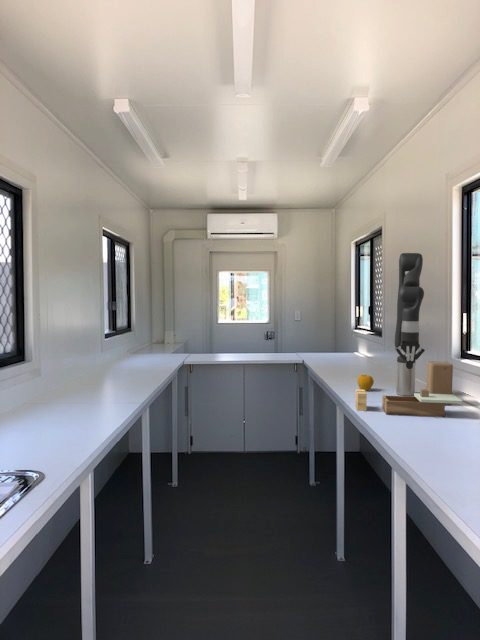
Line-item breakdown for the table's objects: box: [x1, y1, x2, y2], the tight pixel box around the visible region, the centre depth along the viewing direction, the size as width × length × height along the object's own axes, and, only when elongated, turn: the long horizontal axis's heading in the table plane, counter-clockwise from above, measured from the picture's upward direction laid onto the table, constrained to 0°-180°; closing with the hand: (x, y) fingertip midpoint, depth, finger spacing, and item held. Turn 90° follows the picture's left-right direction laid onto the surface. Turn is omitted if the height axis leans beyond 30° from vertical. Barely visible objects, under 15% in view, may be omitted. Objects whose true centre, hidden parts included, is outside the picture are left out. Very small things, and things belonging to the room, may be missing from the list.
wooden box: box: [381, 395, 446, 418], centre depth 200 cm, size 12×24×6 cm, turn 81°
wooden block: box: [425, 360, 454, 406], centre depth 219 cm, size 10×10×20 cm
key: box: [354, 388, 368, 412], centre depth 208 cm, size 9×4×8 cm, turn 171°
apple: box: [357, 374, 375, 392], centre depth 249 cm, size 8×8×9 cm
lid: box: [413, 388, 463, 405], centre depth 199 cm, size 13×17×4 cm
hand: (409, 368), depth 204 cm, fingers closed
